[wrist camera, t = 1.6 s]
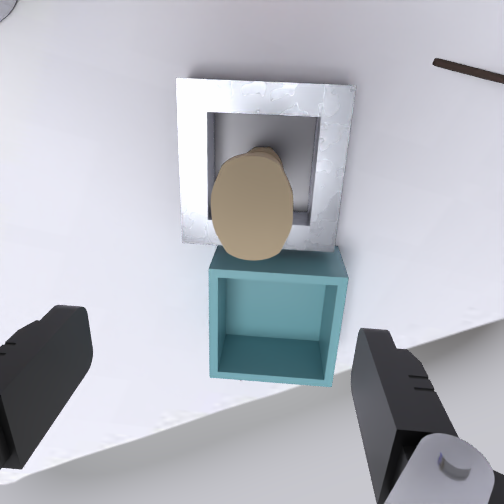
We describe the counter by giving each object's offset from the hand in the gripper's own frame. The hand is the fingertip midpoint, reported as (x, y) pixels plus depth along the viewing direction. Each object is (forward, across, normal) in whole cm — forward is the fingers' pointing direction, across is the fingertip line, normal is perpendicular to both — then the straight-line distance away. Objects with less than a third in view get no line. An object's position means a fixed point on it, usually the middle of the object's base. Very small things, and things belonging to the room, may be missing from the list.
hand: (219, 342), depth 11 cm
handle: (+28, 0, 0) cm, 28 cm away
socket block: (+28, 0, 0) cm, 28 cm away
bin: (+28, -2, +14) cm, 31 cm away
